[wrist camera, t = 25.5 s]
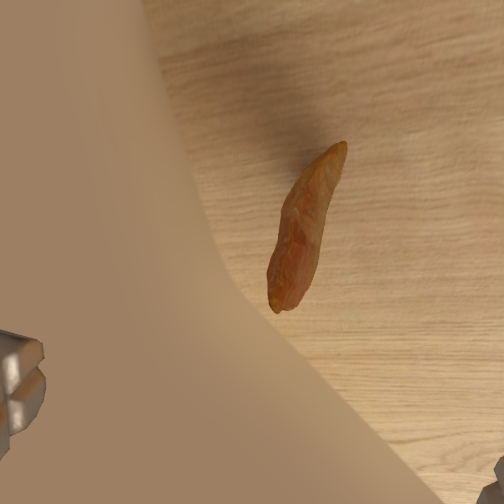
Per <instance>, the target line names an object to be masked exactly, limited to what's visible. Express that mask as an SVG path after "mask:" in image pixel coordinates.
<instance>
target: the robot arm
mask: <svg viewBox="0 0 504 504" xmlns="http://www.w3.org/2000/svg"><path fill="white" fill-rule="evenodd" d="M43 359H44V351H43V343H41V342H40V341H38V340H37V339H33V338H29V337H26V336H22V335H18V334H15V333H11V332H7V331H4V330H0V460H1V459H2V457H3V456H4V455H5V454H6V453H7V451H8V450H9V447H10V443H9V442H10V436H12V435H14V434H16V433H19V432H21V431H23V430H25V429H26V428H27V427H28V426H29V425H30V423H31V422H32V421H33V420H34V418H35V417H36V416H37V414H38V411H39V409H40V407H41V405H42V403H43V400H44V396H45V391H46V377H45V376H44V375H43V373H42V372H41V370H40V369H39V368H38V365H39V363H40V362H41V361H42V360H43ZM494 472H495V474H496V477H497V480H498V481H496V482H494V483H492V484H490V485H488V486H485V487H483V490H482V492H481V494H480V496H479V498H478V500H477V504H504V456H503V457H501V458H500V459H499V461H498V462H497V464H496V466H495V468H494Z"/></svg>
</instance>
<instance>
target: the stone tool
mask: <svg viewBox="0 0 504 504" xmlns="http://www.w3.org/2000/svg"><path fill="white" fill-rule="evenodd" d="M347 150H348V147H347V142H345V141H341V142H340V143H336V144H334V145H333V146H331V147H330V148H329V149H327V150H326V151H325V152H324V153H323V154H322V155H321V156H320V157H319V158H318V159H317V160H316V161H314V162H313V163H312V164H311V165H310V166H308V167H307V168H306V169H305V170H304V172H303V173H302V174H301V176H300V178H299V179H298V181H297V182H296V183H295V184H294V186H293V188H292V189H291V191H290V193H289V194H288V196H287V197H286V199H285V201H284V204H283V206H282V209H281V220H280V227H279V233H278V241H277V244H276V247H275V250H274V252H273V254H272V256H271V259H270V263H269V266H268V270H267V281H268V300H269V306H270V307H271V309H272V310H273V311H274V312H275V313H276V314H279V313H280V312H281V311H282V310H285V311H288V310H292V309H294V308H295V307H297V306H298V304H299V303H300V301H301V300H302V298H303V296H304V294H305V292H306V291H307V290H308V288H309V287H310V285H311V282H312V280H313V277H314V274H315V271H316V268H317V265H318V260H319V253H320V247H321V241H322V235H323V231H324V226H325V219H326V213H327V209H328V206H329V203H330V201H331V198H332V195H333V192H334V189H335V187H336V186H337V184H338V182H339V180H340V177H341V174H342V170H343V166H344V163H345V159H346V155H347Z"/></svg>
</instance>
